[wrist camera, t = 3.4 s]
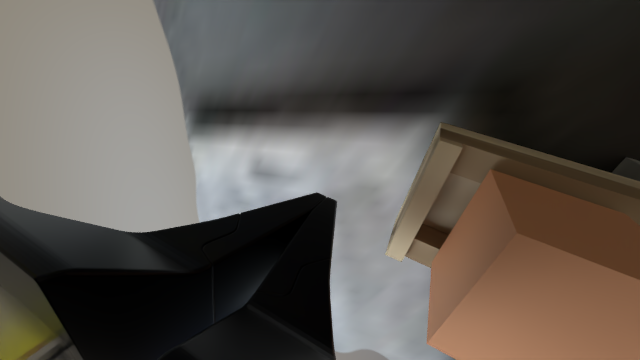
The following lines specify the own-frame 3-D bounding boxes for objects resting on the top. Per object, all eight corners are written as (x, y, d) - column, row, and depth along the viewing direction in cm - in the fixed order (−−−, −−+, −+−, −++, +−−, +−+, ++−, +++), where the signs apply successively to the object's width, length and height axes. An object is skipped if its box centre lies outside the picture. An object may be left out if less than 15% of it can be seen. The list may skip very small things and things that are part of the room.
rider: (519, 279, 12) (566, 419, 7) (432, 242, 13) (426, 343, 8) (601, 192, 9) (755, 324, 5) (484, 155, 10) (517, 232, 6)
